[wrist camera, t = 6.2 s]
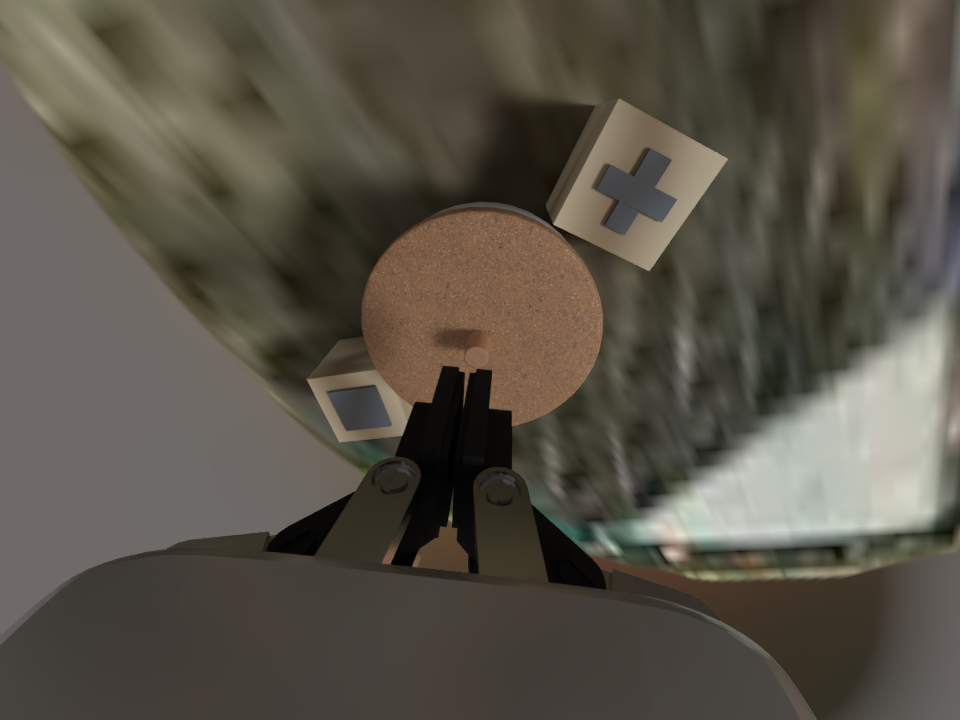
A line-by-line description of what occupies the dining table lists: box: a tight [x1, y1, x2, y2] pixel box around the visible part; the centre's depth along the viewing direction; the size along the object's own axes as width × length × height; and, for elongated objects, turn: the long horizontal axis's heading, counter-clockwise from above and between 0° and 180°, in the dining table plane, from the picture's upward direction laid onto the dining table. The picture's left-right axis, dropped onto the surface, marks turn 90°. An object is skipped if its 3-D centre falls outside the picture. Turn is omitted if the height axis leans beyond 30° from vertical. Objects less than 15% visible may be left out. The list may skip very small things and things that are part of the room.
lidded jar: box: [361, 202, 603, 426], centre depth 19 cm, size 11×11×9 cm
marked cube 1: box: [307, 336, 413, 442], centre depth 25 cm, size 5×5×5 cm
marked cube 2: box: [545, 99, 728, 271], centre depth 18 cm, size 5×5×5 cm
